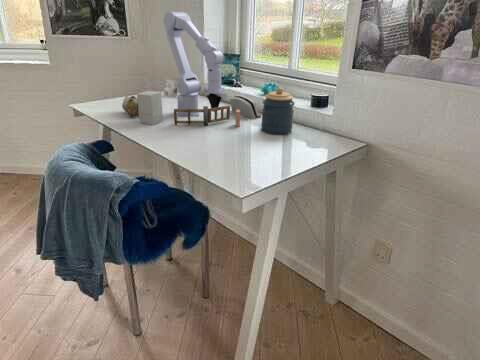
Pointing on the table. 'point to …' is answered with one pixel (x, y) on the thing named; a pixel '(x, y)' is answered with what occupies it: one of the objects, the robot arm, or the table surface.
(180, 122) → the fence
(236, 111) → the post
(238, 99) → the grey arched piece
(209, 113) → the gate
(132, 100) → the ceramic sculpture
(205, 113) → the hinge post
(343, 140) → the table surface
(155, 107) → the supplement box
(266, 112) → the canister
